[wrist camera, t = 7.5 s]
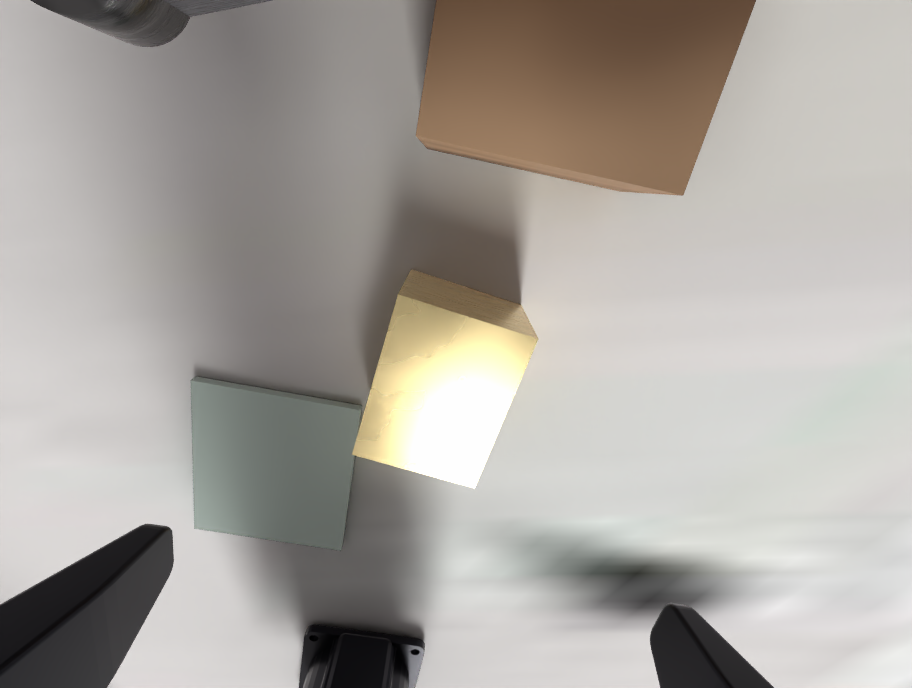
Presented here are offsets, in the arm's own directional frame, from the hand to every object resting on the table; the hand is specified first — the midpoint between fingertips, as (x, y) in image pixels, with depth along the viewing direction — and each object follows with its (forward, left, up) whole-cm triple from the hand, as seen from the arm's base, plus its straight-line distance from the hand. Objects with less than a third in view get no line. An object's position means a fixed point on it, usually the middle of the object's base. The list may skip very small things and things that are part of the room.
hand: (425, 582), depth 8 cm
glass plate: (-7, +6, -10) cm, 14 cm away
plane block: (+11, -2, -10) cm, 15 cm away
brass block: (0, 0, -11) cm, 11 cm away
